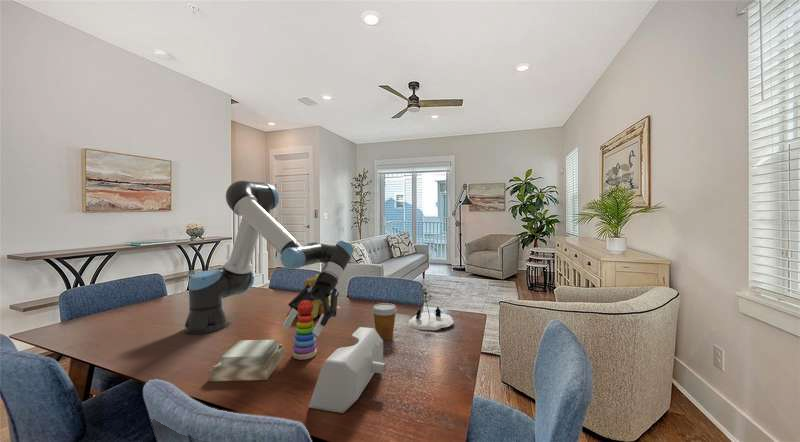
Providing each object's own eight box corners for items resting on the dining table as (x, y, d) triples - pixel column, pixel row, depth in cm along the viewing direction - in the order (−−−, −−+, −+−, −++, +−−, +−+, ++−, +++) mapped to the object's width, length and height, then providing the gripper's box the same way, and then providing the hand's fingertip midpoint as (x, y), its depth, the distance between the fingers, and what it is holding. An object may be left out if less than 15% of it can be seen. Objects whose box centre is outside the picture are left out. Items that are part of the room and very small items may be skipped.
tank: (368, 420, 72) (368, 367, 72) (307, 410, 76) (306, 359, 76) (396, 368, 97) (396, 328, 96) (348, 362, 100) (348, 324, 100)
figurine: (455, 316, 142) (451, 280, 142) (452, 331, 124) (448, 291, 124) (412, 317, 147) (408, 283, 146) (404, 332, 129) (399, 293, 129)
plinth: (210, 381, 89) (209, 360, 89) (236, 355, 105) (236, 338, 105) (267, 379, 90) (266, 359, 90) (284, 354, 106) (284, 337, 106)
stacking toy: (310, 362, 101) (309, 304, 100) (287, 359, 102) (287, 303, 102) (321, 351, 108) (320, 298, 108) (300, 349, 110) (299, 296, 109)
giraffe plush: (284, 314, 148) (284, 274, 147) (324, 303, 166) (324, 267, 166) (310, 324, 135) (310, 280, 135) (351, 310, 154) (350, 272, 153)
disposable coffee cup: (400, 334, 123) (400, 304, 123) (390, 343, 114) (389, 311, 114) (379, 330, 127) (379, 301, 127) (367, 339, 118) (367, 308, 118)
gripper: (361, 286, 113) (334, 342, 100) (309, 279, 124) (279, 329, 111) (352, 274, 108) (323, 332, 95) (299, 268, 119) (267, 319, 106)
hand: (299, 330), depth 103 cm, fingers open, 13 cm apart
